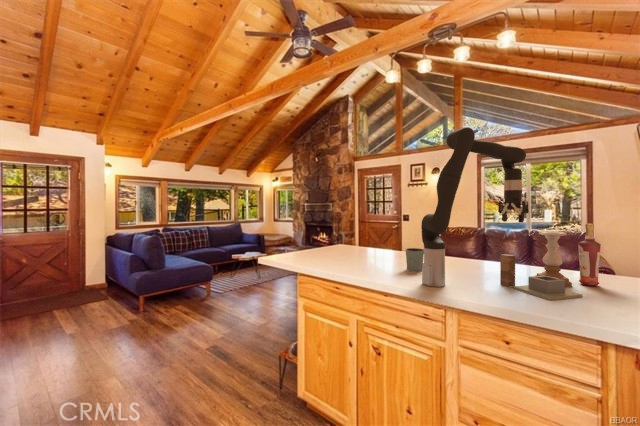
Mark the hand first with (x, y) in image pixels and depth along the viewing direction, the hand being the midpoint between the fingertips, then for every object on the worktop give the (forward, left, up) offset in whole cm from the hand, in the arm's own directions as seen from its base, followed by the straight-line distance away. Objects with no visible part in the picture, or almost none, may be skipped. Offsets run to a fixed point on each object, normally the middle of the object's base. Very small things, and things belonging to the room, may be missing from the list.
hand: (512, 221), depth 142 cm
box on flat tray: (-7, -23, -28) cm, 37 cm away
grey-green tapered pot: (-37, +29, -29) cm, 55 cm away
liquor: (+22, -19, -29) cm, 41 cm away
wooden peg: (-13, -10, -28) cm, 33 cm away
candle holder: (+10, -12, -29) cm, 33 cm away
